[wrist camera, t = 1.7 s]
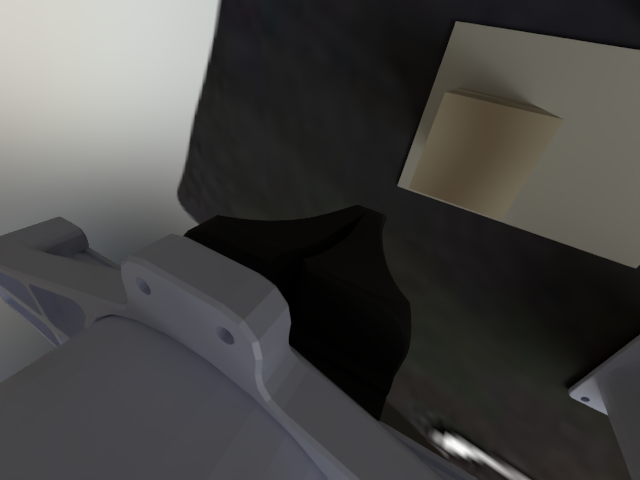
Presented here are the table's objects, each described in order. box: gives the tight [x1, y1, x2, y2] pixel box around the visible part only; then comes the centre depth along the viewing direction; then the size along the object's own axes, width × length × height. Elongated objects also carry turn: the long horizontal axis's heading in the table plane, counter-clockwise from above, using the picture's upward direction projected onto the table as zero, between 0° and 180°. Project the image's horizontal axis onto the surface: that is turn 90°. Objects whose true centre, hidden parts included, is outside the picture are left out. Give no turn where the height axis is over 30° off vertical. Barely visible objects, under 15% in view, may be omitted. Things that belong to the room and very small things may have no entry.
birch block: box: [409, 88, 564, 220], centre depth 14 cm, size 4×4×8 cm
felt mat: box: [398, 21, 640, 268], centre depth 16 cm, size 15×10×1 cm, turn 79°
